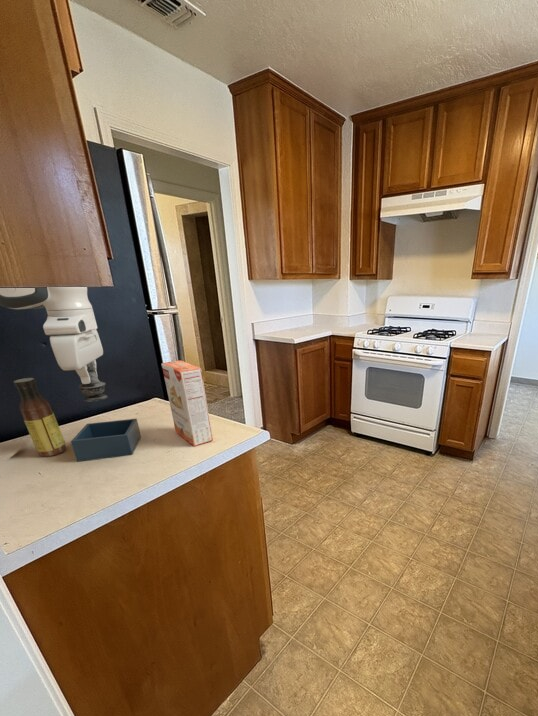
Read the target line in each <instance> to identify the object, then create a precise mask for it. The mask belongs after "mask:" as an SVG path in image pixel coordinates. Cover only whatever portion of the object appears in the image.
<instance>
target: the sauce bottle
mask: <svg viewBox="0 0 538 716" xmlns="http://www.w3.org/2000/svg"><path fill="white" fill-rule="evenodd" d="M13 384H14V387H15V388H16V389H17V391H18V394H19V397H20V399H21V400H20V403H19V406H18V407H19V409H18V410H19V411H20V414H21V416H22V418H23V419H22V420H23V422H24V424H25V426H26V429H27V432H28V434H29V436H30V438H31V440H32V443H33V445H34V447H35V450H36V451H37V453H38V455H39V456H41V457H51V456H57V455H59V454H62V453H64V452H65V451H66V450H67V446H66V441H65V438H64V436H63V434H62V431H61V428H60V426H59V423H58V421H57V418H56V415H55V413H54V411H53V409H52V407H51V404H50V402H49V401H48V400H47V399H45V398H44V397H43V396H42V395H41V393H40V392H39V389H38V386H37V381H36V380H35V378H34V377H26V378H25V377H24V378H20V379H16V380H14V381H13Z"/></svg>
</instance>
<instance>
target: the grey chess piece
mask: <svg viewBox="0 0 538 716" xmlns="http://www.w3.org/2000/svg"><path fill="white" fill-rule="evenodd" d="M95 370H96V371H97V367H96V368H94V366H93V363H92V362H90V363H89V364H87V371H88V373H89V375H90V376H91V379H92V382H91V383H89V384H83V383H82V382H81V384H78V386H77V388H78V389H79V390H80V392H81V393H82V394H83V395H85V396H86V397H84V398H83V399H82V400H83V402H86V403H93V402H99V401H103V400H106V399H108V397H109V396H108V395H106V394H104V393H103V392H105V390H106V382H105V381H101V380H99V378H98V377H97V376H96V372H95Z"/></svg>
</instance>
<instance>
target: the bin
mask: <svg viewBox="0 0 538 716" xmlns="http://www.w3.org/2000/svg"><path fill="white" fill-rule="evenodd" d="M139 427H140V426H139V423H138V419H137V418H127V419H119V420H110V421H109V420H108V421H100V422H91V423H86V424H85V425H84V426H83V428H82V429H80V430H79V432H78V433H77V434H76V435H75V436H74V437H73V438H72V439H71V440H70V444H71V447H72V451H73V453H74V456H75V460H76V462H77V463H79V462H86V461H94V460H101V459H103V460H104V459H110V458H117V457H126V456H133V455H134V452H135V450H136V448H137V447H138V444H139V442H140V439H141V437H142V435H141V430H140V428H139Z"/></svg>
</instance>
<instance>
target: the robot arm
mask: <svg viewBox="0 0 538 716" xmlns="http://www.w3.org/2000/svg"><path fill="white" fill-rule="evenodd" d="M0 307H4V308H7V309H12V310H28V309H30V310H39V309H44V308H45V311H46V314H47V317H46V320H45V321H44V323H43V325H42V328H43V331H44V334H45V335H46V336H49V343H50V347H51V349H52V352H53V354H54V355H53V356H54V358H55V360H56V362H57V365H58V366H59V368H60V369H61V370H62V371H75V372H76V374H77V375H78V377H79V378H80V382H81V384H82V383H83V384H89V383H91V382H92V379H91V376H90V375H89V373H88V371H87V364H89V363H90V362H92V363H93V366H94V368H96V370H95V372H96V376H97V378H98V377H99V376H98V372H97V371H98V370H97V361H96V360H98V359H99V358H100V357H102V356H103V355H104V348H103V345H102V342H101V339H100V335H99V332H98V330H97V329H98V328H99V327H98V324H97V320H96V316H95V313H94V308H93V305H92V303H91V302H90V300H89V297H88V286H87V287H47V288H0Z"/></svg>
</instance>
